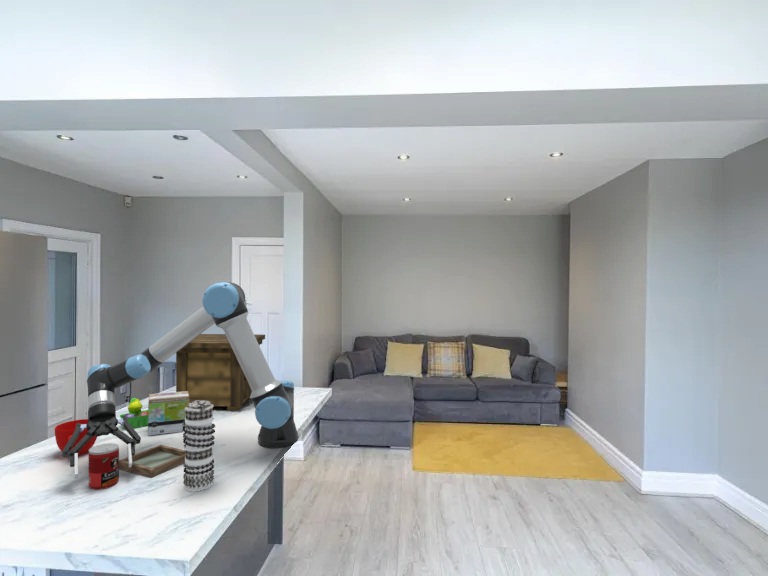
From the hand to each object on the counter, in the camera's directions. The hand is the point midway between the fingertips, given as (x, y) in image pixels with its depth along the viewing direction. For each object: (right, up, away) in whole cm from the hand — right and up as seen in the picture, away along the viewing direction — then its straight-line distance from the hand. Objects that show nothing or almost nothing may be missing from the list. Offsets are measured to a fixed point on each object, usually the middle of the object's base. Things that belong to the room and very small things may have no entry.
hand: (104, 470), depth 131 cm
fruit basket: (-22, -4, +55) cm, 60 cm away
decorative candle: (+27, -5, +2) cm, 28 cm away
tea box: (-5, -4, +50) cm, 51 cm away
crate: (+1, -4, +91) cm, 92 cm away
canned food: (-1, -5, +2) cm, 5 cm away
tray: (+7, -5, +17) cm, 19 cm away
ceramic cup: (-25, -4, +24) cm, 35 cm away
